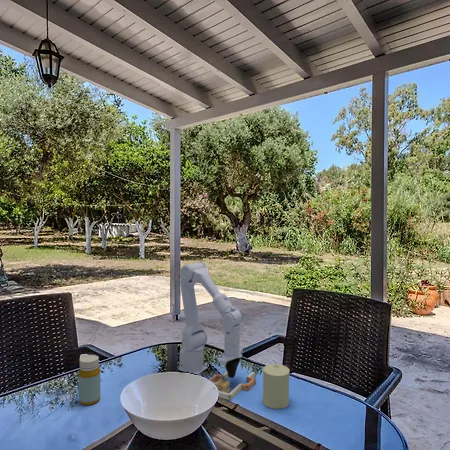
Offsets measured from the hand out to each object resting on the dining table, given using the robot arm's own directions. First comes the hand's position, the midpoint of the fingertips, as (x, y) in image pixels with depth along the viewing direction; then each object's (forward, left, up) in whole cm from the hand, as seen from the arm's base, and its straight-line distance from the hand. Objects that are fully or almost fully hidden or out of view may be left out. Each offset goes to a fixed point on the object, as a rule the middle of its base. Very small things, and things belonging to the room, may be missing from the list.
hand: (231, 376), depth 141 cm
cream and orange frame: (0, 0, -3) cm, 3 cm away
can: (+19, -3, -3) cm, 20 cm away
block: (0, -7, -3) cm, 8 cm away
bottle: (-37, -35, -3) cm, 51 cm away
